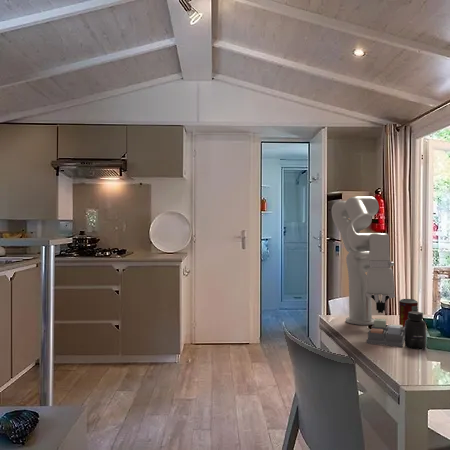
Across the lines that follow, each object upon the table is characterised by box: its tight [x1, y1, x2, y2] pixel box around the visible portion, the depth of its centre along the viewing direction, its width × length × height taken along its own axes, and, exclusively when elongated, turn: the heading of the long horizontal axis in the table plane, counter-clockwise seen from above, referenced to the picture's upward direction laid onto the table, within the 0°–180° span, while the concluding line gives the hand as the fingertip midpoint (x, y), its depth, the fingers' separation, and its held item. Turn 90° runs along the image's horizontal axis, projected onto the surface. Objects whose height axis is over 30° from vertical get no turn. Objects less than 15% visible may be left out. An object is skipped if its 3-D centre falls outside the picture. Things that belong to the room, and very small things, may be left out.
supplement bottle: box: [404, 311, 427, 350], centre depth 152 cm, size 7×7×12 cm
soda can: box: [398, 298, 419, 326], centre depth 177 cm, size 7×7×12 cm
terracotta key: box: [371, 327, 383, 334], centre depth 161 cm, size 4×4×2 cm
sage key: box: [374, 318, 387, 328], centre depth 170 cm, size 4×4×2 cm
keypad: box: [366, 324, 405, 348], centre depth 164 cm, size 20×12×3 cm, turn 154°
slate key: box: [388, 324, 401, 335], centre depth 158 cm, size 4×4×2 cm
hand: (380, 312), depth 169 cm, fingers closed
